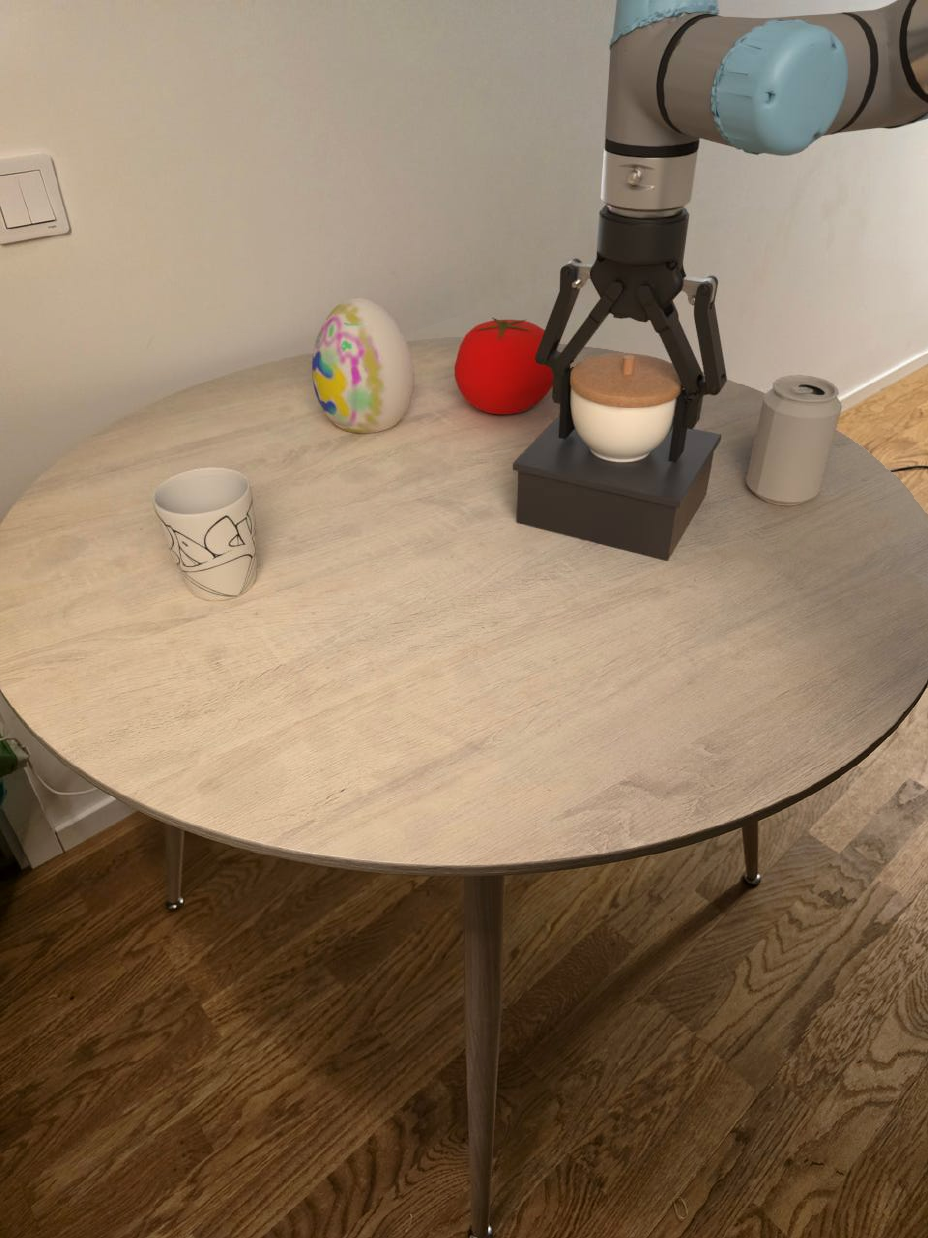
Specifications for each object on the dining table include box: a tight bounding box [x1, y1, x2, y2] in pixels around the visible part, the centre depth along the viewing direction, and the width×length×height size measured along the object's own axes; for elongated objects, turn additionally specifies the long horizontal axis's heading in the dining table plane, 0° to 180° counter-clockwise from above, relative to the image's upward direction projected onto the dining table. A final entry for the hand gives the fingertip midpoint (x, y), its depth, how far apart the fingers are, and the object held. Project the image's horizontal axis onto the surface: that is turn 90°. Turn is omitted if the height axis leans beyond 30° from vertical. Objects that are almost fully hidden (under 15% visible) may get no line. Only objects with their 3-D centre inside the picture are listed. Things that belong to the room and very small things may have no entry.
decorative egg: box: [311, 296, 415, 435], centre depth 104 cm, size 12×12×15 cm
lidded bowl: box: [570, 352, 684, 462], centre depth 84 cm, size 11×11×9 cm
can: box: [746, 374, 843, 507], centre depth 89 cm, size 8×8×12 cm
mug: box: [151, 466, 258, 602], centre depth 80 cm, size 11×8×10 cm
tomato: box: [454, 317, 559, 415], centre depth 108 cm, size 12×13×11 cm
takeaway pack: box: [512, 414, 722, 562], centre depth 89 cm, size 17×15×7 cm
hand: (620, 444), depth 86 cm, fingers closed on lidded bowl, 11 cm apart
